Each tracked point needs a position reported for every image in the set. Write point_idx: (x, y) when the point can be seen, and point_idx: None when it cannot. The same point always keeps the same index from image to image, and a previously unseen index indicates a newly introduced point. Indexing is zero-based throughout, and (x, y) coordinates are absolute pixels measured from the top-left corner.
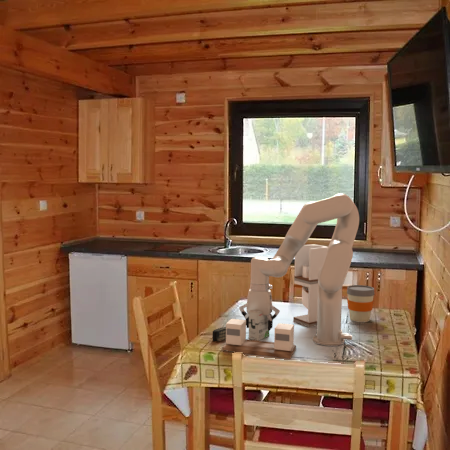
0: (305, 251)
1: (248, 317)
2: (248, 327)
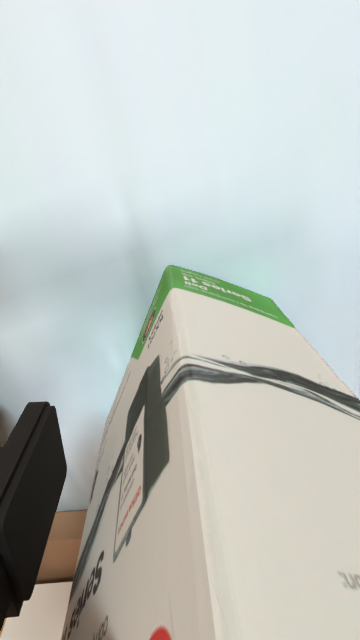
0: None
1: (2, 616)
2: (64, 467)
